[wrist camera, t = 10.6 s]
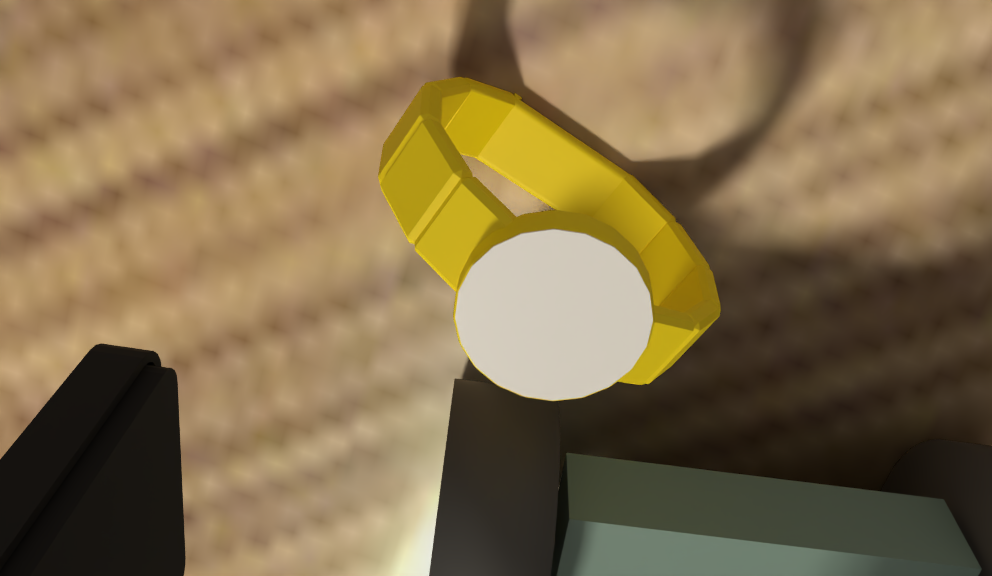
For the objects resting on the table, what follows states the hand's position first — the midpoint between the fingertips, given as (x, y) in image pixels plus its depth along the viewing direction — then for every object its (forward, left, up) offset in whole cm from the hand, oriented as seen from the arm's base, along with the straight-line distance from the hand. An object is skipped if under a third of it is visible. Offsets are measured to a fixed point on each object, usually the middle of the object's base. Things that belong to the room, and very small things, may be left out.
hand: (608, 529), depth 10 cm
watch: (0, 0, -10) cm, 10 cm away
